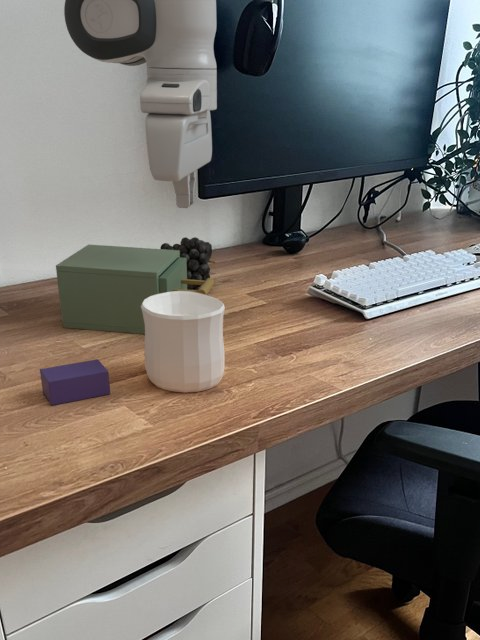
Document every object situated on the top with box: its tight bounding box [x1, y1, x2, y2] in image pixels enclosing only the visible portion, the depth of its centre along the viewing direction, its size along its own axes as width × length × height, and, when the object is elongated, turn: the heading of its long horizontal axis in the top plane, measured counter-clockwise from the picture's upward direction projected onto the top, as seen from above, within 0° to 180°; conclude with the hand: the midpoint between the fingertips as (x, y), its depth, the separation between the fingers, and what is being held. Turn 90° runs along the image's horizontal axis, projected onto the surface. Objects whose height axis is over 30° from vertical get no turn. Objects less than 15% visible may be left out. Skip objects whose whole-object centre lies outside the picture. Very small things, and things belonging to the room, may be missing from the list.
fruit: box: [159, 236, 216, 290], centre depth 117 cm, size 9×8×15 cm
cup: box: [141, 291, 226, 394], centre depth 84 cm, size 10×10×10 cm
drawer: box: [159, 257, 215, 295], centre depth 102 cm, size 18×11×7 cm, turn 81°
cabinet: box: [55, 243, 180, 335], centre depth 103 cm, size 15×13×9 cm
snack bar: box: [39, 359, 111, 406], centre depth 81 cm, size 7×4×3 cm, turn 119°
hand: (185, 206), depth 95 cm, fingers closed
